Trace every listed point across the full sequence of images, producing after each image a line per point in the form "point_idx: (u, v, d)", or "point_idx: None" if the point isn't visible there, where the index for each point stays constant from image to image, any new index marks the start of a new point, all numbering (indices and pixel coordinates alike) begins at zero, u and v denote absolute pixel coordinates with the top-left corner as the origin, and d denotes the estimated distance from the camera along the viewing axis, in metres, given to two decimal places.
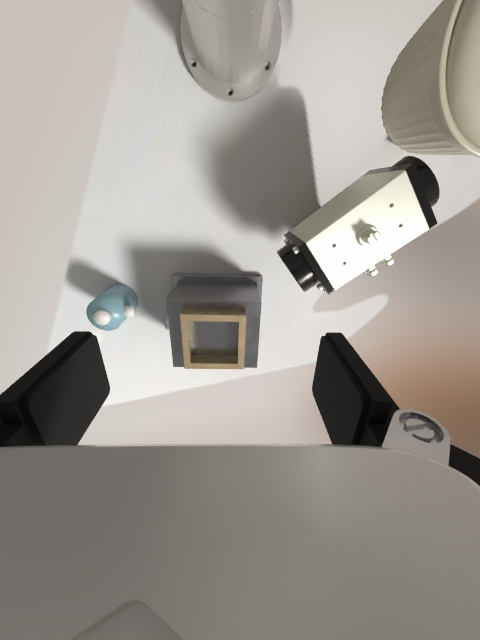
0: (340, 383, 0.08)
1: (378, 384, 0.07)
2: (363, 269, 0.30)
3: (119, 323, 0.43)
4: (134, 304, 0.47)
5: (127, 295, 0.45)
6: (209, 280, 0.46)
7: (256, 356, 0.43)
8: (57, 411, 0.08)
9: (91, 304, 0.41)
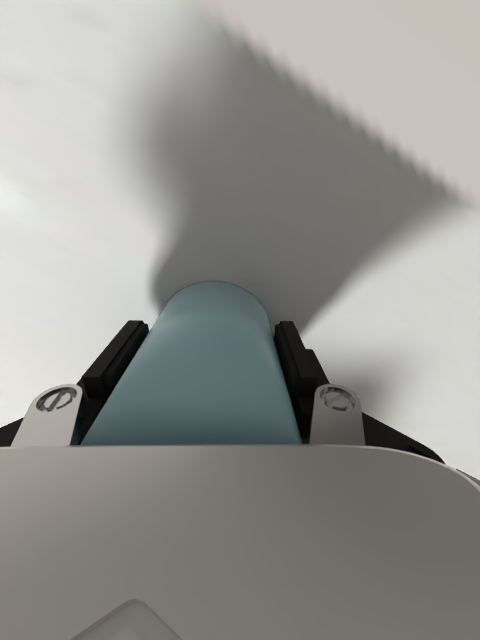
0: (283, 365, 0.09)
1: (309, 363, 0.08)
2: None
3: None
4: None
5: None
6: None
7: None
8: None
9: (276, 437, 0.06)
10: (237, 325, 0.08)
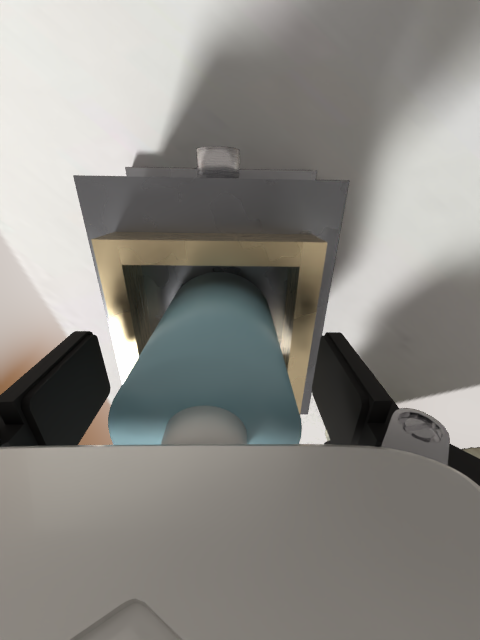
0: (339, 383, 0.08)
1: (377, 384, 0.07)
2: None
3: None
4: None
5: None
6: None
7: None
8: (58, 411, 0.08)
9: (274, 393, 0.07)
10: (241, 308, 0.10)
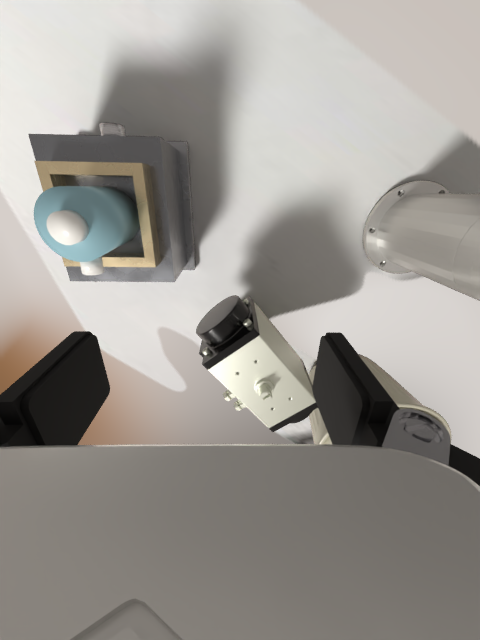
0: (340, 383, 0.08)
1: (378, 384, 0.07)
2: (231, 390, 0.30)
3: (60, 252, 0.21)
4: None
5: (121, 244, 0.25)
6: (184, 200, 0.34)
7: (89, 279, 0.30)
8: (57, 411, 0.08)
9: (93, 205, 0.20)
10: (100, 189, 0.22)
